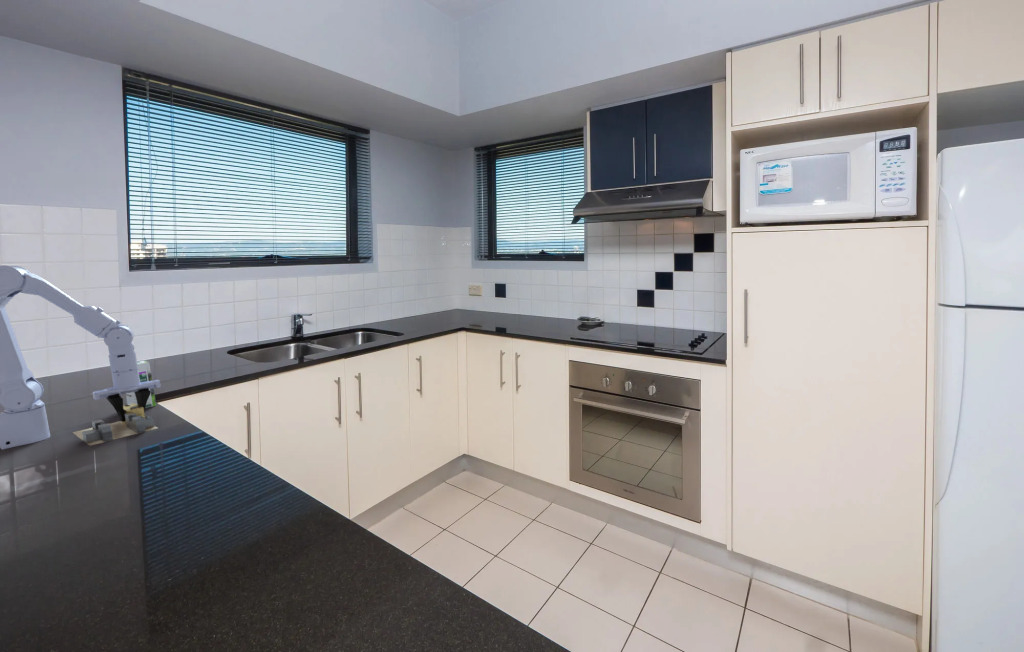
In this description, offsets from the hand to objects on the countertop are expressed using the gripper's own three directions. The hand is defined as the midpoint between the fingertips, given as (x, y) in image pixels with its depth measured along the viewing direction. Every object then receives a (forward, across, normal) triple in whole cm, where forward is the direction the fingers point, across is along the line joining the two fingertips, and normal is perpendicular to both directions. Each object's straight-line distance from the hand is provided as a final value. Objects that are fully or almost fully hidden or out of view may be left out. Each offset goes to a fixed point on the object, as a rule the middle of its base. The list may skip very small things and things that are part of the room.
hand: (132, 418), depth 135 cm
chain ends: (+1, -5, -9) cm, 10 cm away
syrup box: (+2, +6, +16) cm, 18 cm away
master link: (+1, 0, 0) cm, 1 cm away
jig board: (+2, -5, -5) cm, 7 cm away
